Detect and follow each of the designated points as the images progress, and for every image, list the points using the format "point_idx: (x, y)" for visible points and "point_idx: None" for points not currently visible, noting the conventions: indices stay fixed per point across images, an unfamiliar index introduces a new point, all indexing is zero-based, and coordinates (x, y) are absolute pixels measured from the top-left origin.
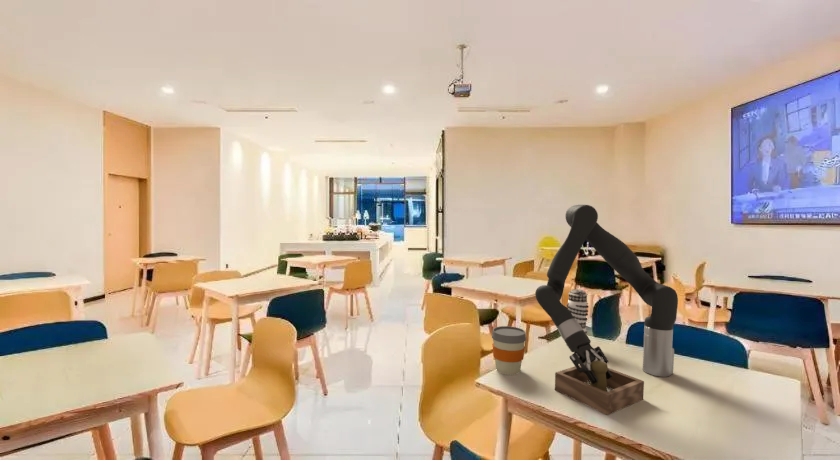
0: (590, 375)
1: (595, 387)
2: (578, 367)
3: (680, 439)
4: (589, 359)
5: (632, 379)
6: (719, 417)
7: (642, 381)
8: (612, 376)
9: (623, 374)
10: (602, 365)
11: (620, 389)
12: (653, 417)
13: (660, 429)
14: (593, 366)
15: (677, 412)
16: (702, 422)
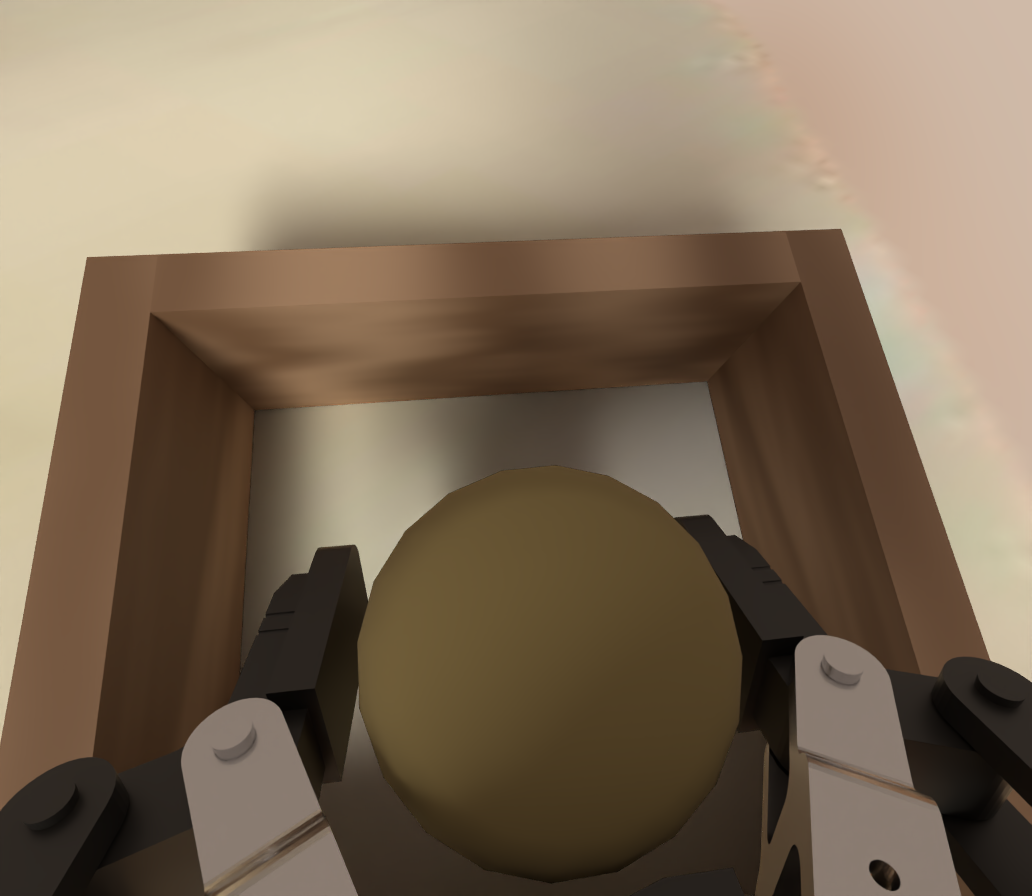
0: (791, 602)
1: (843, 410)
2: (1028, 856)
3: (547, 15)
4: (831, 873)
5: (149, 363)
6: (40, 11)
7: (115, 260)
8: (153, 686)
9: (79, 522)
10: (614, 496)
11: (593, 251)
12: (445, 185)
13: (551, 100)
14: (741, 654)
15: (210, 148)
16: (219, 31)
